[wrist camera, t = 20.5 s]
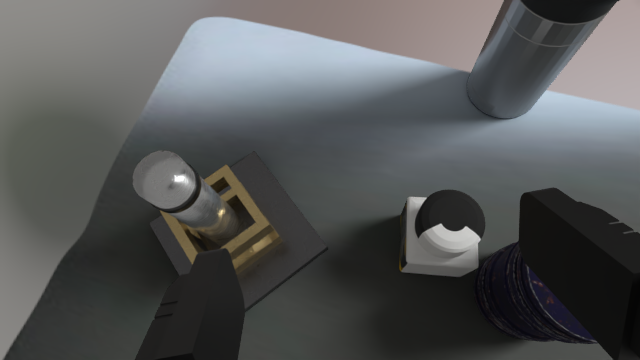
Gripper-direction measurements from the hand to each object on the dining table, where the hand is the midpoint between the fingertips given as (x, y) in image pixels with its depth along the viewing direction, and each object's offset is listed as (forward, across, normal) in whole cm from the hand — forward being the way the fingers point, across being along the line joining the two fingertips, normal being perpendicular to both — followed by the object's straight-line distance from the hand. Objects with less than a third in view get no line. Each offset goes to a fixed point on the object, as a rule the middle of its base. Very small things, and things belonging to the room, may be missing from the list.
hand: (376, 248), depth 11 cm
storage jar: (+25, -18, +27) cm, 41 cm away
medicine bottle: (+30, -10, +22) cm, 39 cm away
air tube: (+33, +13, +17) cm, 39 cm away
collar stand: (+34, +13, +18) cm, 40 cm away
